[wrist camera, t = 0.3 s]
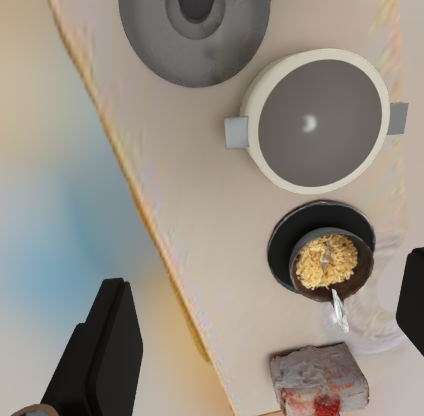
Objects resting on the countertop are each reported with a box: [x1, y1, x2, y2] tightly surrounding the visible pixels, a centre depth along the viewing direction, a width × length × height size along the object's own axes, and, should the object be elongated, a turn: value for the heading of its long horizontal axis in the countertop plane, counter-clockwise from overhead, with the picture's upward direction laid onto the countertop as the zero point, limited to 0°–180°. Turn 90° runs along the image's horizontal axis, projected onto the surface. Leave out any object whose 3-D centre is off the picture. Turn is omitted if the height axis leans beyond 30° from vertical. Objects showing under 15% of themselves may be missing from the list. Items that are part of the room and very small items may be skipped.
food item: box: [270, 342, 369, 416], centre depth 49 cm, size 14×8×10 cm, turn 102°
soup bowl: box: [268, 201, 376, 333], centre depth 42 cm, size 15×16×7 cm
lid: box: [118, 0, 270, 87], centre depth 29 cm, size 15×15×7 cm
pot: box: [224, 48, 408, 194], centre depth 34 cm, size 14×18×7 cm
